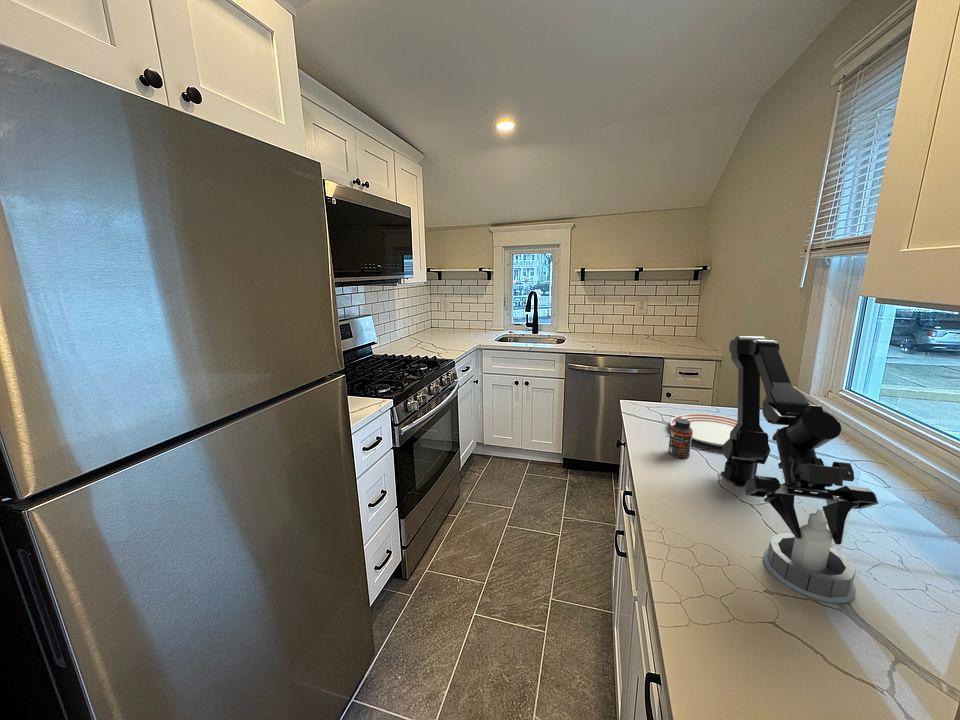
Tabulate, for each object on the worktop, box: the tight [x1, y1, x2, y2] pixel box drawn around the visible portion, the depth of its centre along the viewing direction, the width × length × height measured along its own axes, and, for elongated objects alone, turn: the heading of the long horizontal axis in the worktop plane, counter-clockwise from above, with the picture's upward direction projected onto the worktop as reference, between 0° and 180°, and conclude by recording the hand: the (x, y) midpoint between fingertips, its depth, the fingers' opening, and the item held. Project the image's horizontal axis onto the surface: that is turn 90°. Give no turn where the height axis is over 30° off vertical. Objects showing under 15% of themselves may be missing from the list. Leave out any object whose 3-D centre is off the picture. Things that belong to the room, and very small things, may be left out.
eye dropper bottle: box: [790, 509, 833, 572], centre depth 68 cm, size 4×6×12 cm
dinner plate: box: [669, 413, 738, 447], centre depth 128 cm, size 28×27×3 cm
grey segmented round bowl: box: [763, 532, 857, 605], centre depth 69 cm, size 13×13×4 cm
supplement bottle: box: [667, 418, 693, 459], centre depth 114 cm, size 6×6×11 cm
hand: (818, 541), depth 67 cm, fingers closed on eye dropper bottle, 5 cm apart
